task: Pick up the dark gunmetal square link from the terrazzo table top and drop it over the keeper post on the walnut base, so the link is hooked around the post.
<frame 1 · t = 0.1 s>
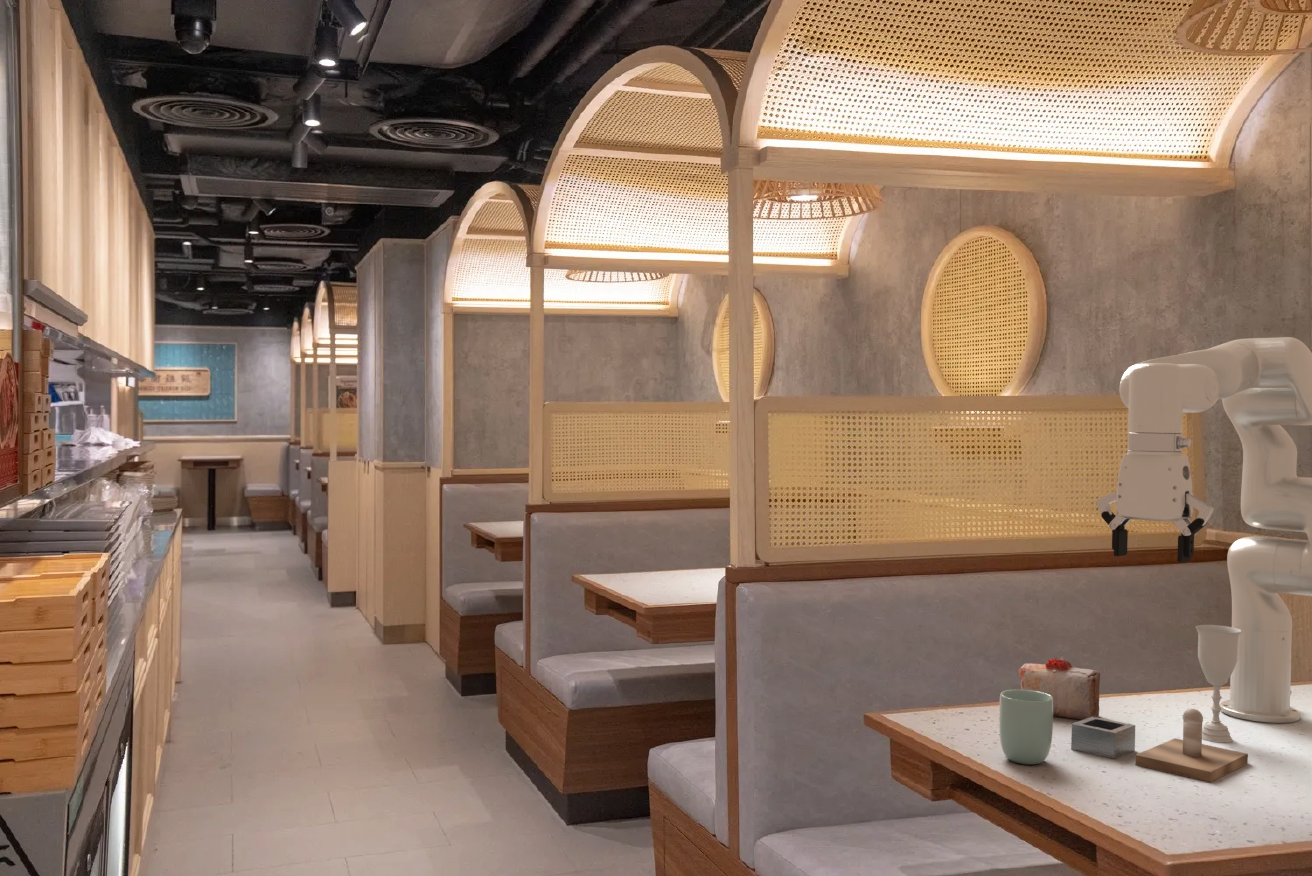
hand: (1151, 558, 176), 31 cm above the table, tool pointing down, fingers open, 9 cm apart
chalice: (1215, 739, 191), on the table
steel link: (1102, 749, 184), on the table
keeper post: (1191, 764, 177), on the table
cup: (1025, 762, 177), on the table
food item: (1058, 715, 206), on the table
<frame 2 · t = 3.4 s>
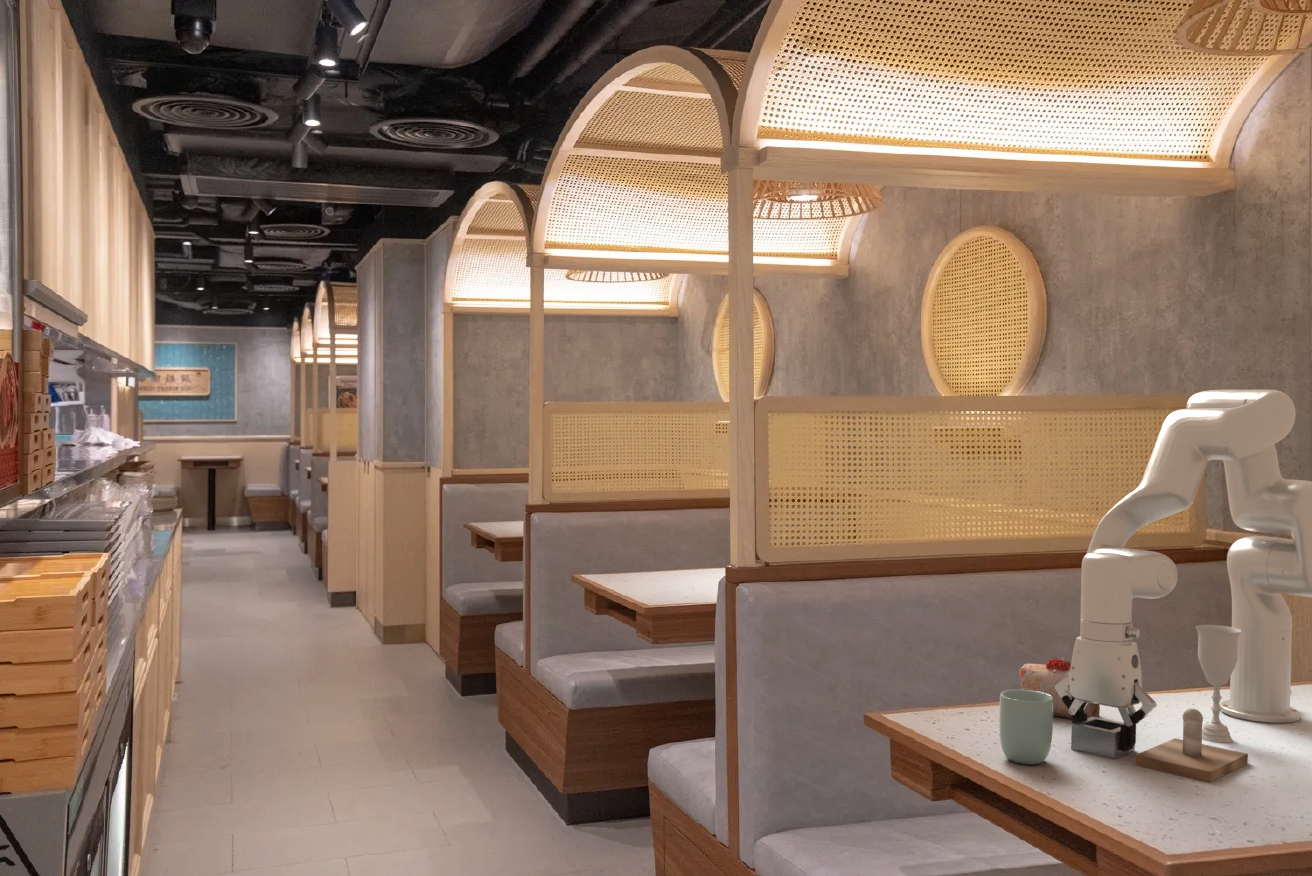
hand: (1103, 743, 184), 1 cm above the table, tool pointing down, fingers closed on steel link, 7 cm apart
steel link: (1102, 749, 184), on the table, touching gripper
everything else where it was.
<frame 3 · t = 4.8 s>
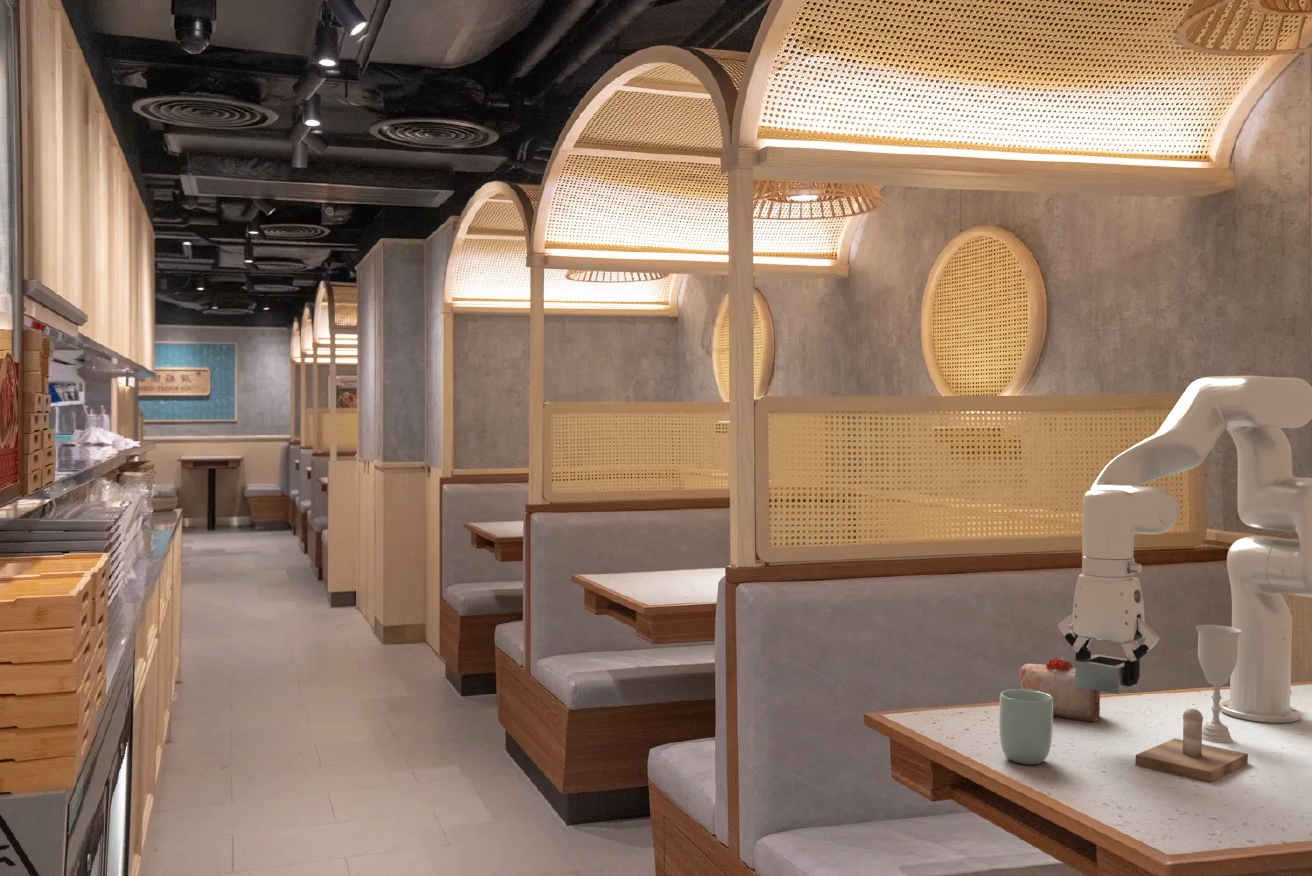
hand: (1107, 679, 184), 11 cm above the table, tool pointing down, fingers closed on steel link, 7 cm apart
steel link: (1106, 686, 184), point 10 cm above the table, touching gripper
everything else where it was.
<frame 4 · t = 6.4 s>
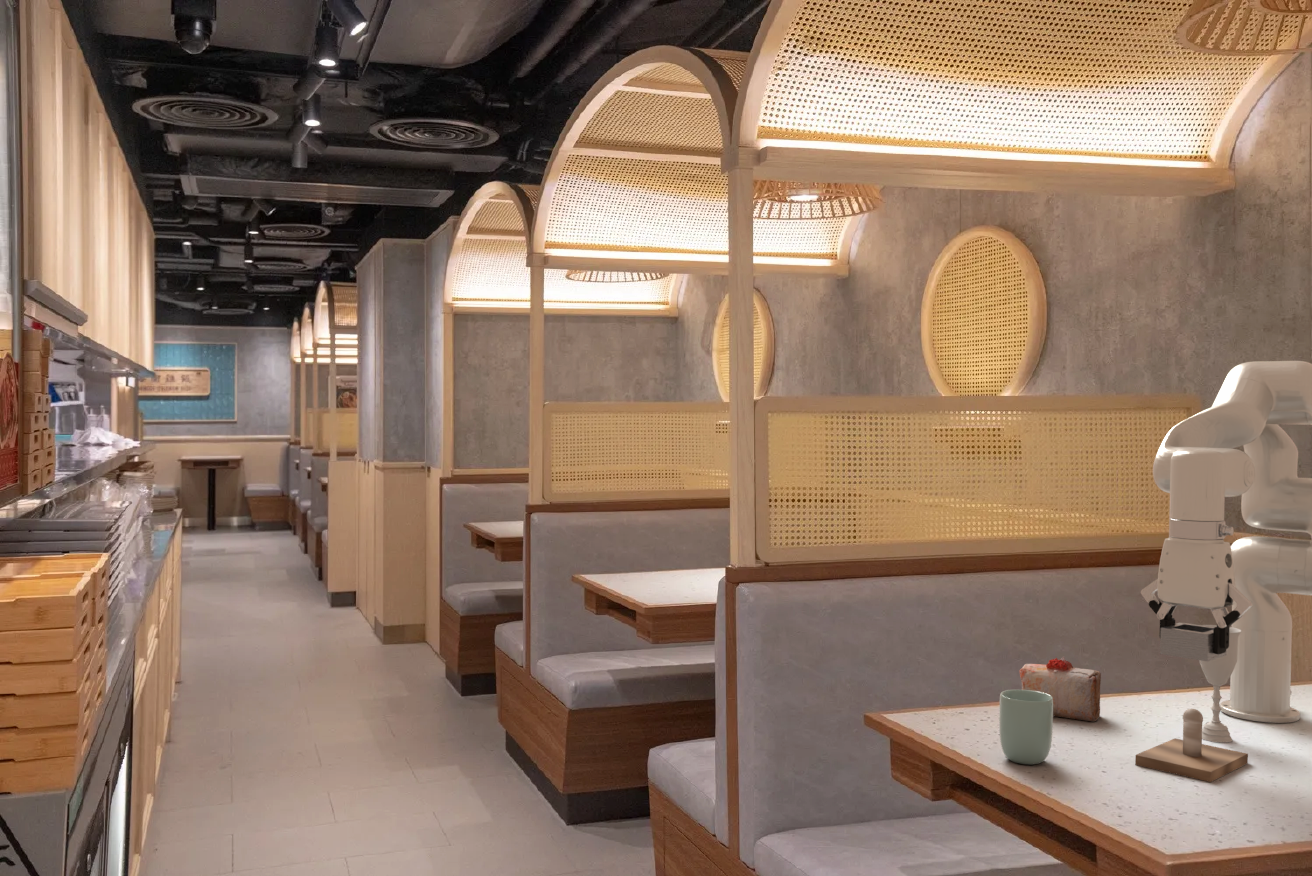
hand: (1193, 648, 176), 18 cm above the table, tool pointing down, fingers closed on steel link, 7 cm apart
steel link: (1193, 654, 176), point 17 cm above the table, touching gripper
everything else where it was.
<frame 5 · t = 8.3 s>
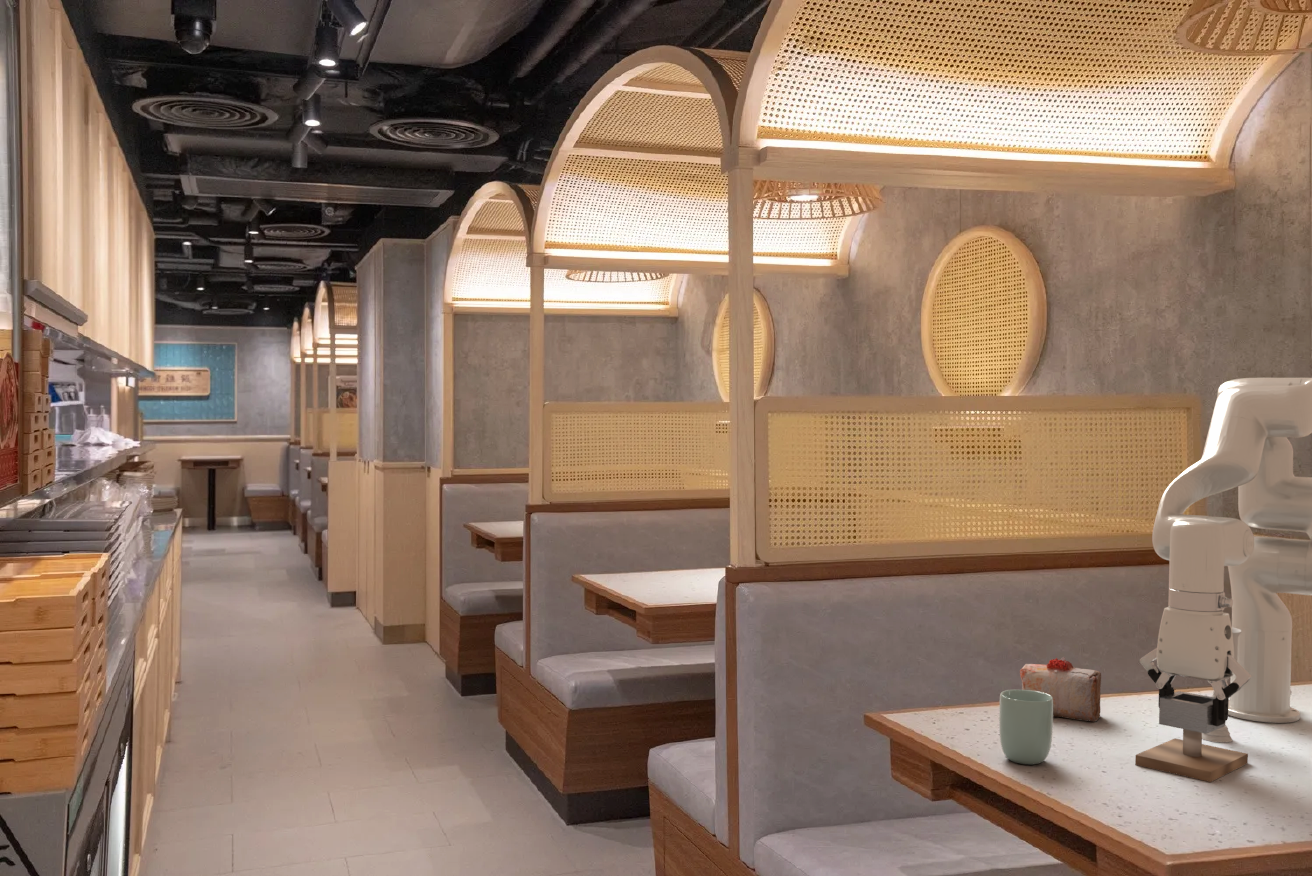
hand: (1192, 718, 176), 7 cm above the table, tool pointing down, fingers closed on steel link, 7 cm apart
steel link: (1192, 725, 176), point 6 cm above the table, touching gripper
everything else where it was.
when the fingers open (4 cm above the table, at t = 9.9 s): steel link drops 2 cm, resting on keeper post.
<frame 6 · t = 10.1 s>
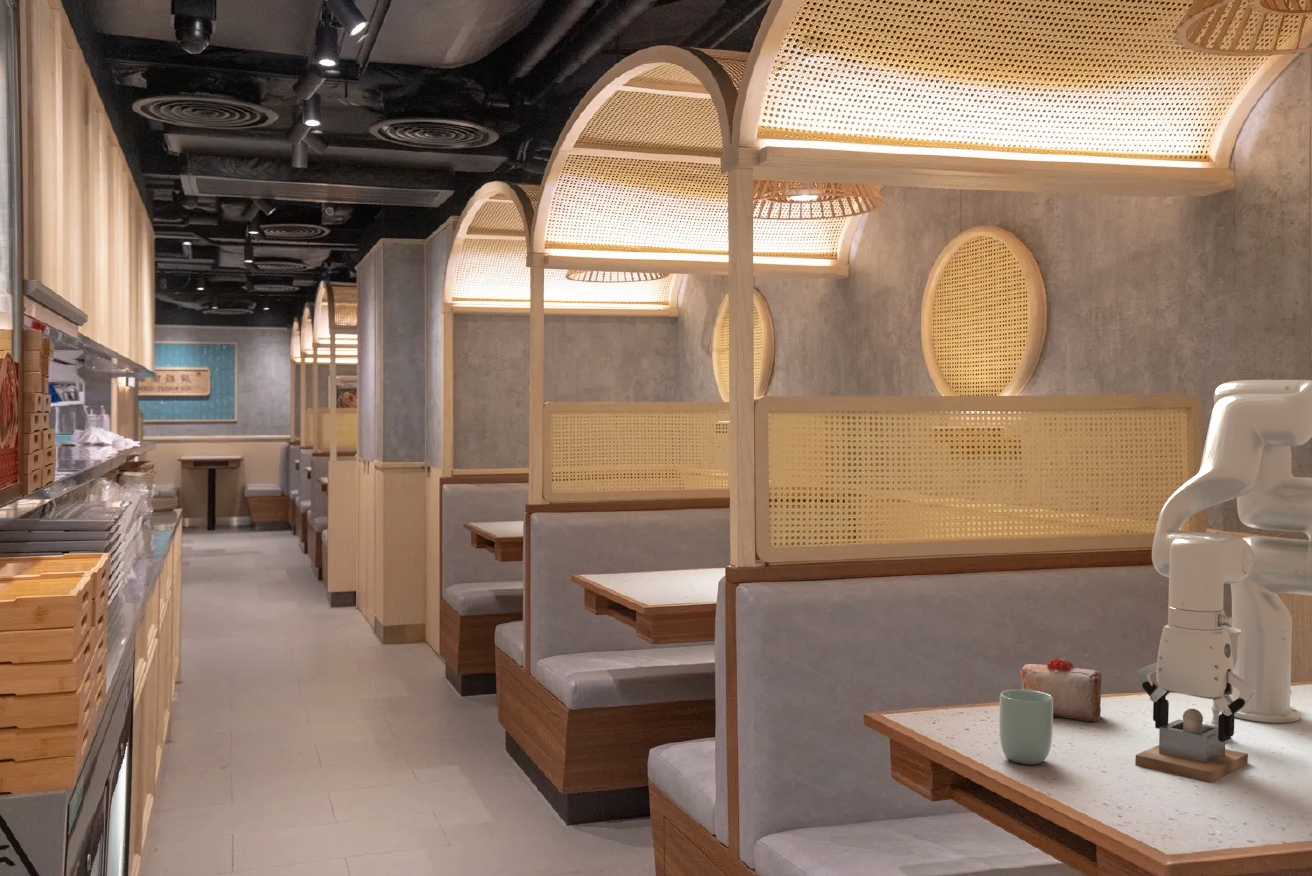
hand: (1192, 733, 177), 5 cm above the table, tool pointing down, fingers open, 9 cm apart
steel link: (1192, 754, 177), point 1 cm above the table, touching keeper post
everything else where it was.
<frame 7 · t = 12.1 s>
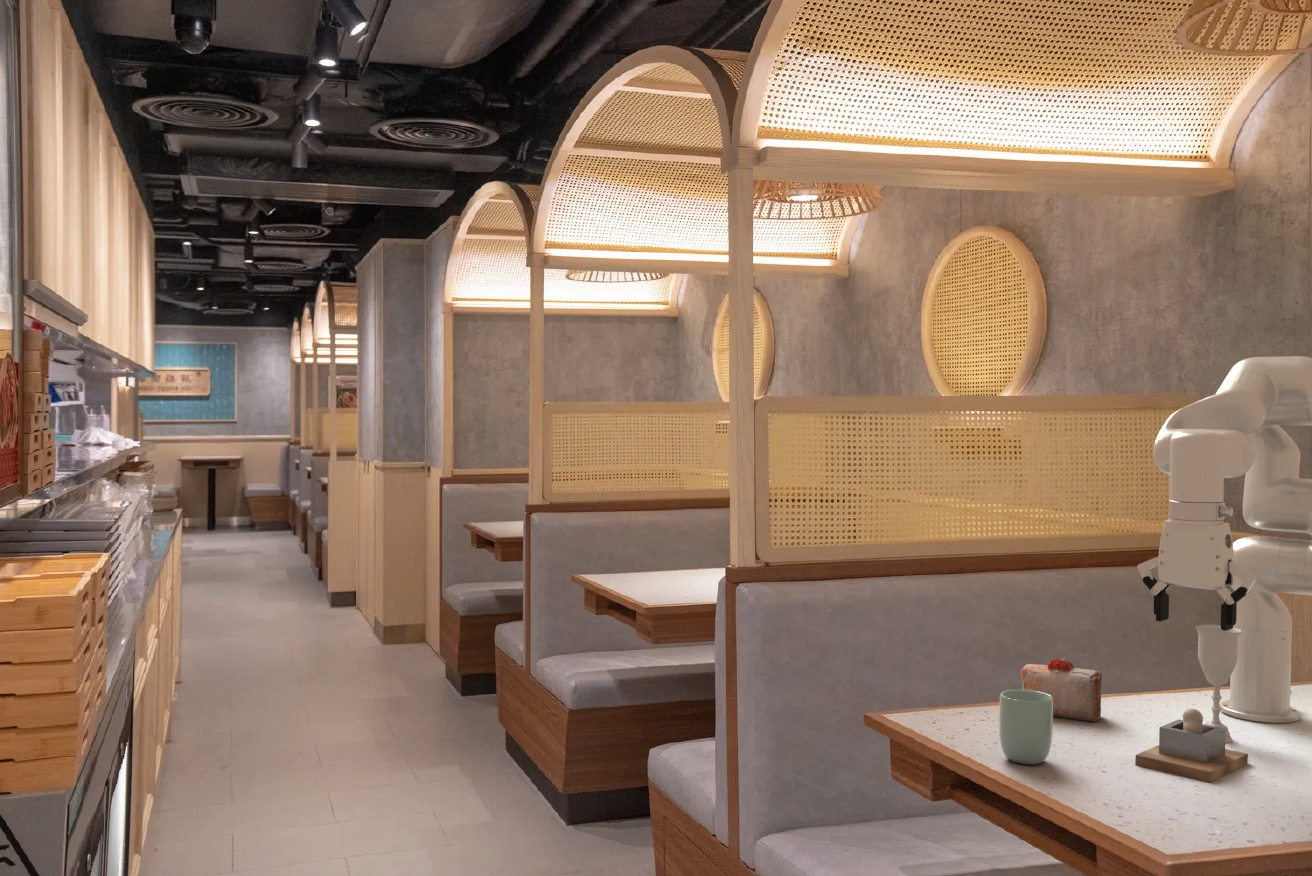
hand: (1194, 624, 178), 21 cm above the table, tool pointing down, fingers open, 9 cm apart
nothing on the table moved.
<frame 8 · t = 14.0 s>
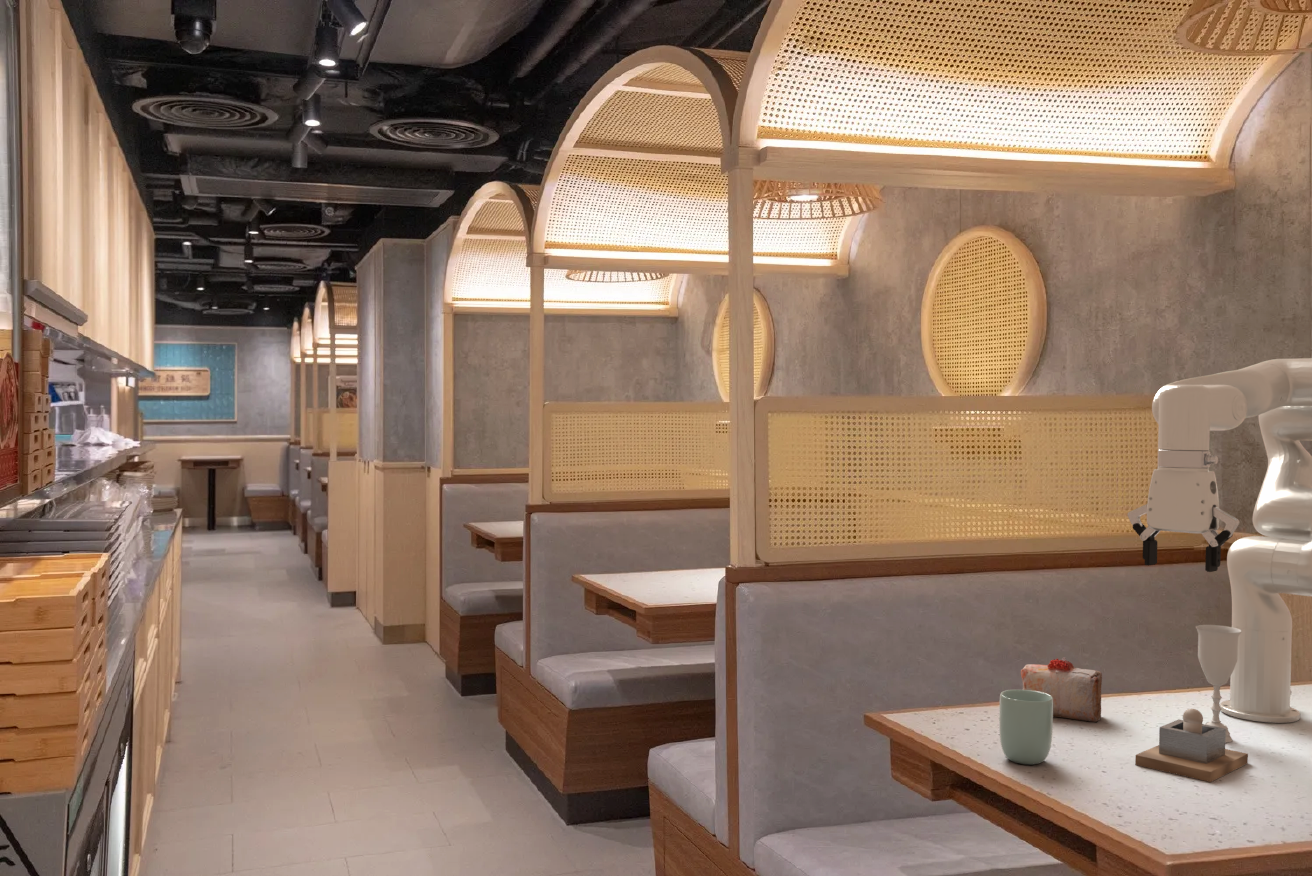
hand: (1180, 567, 188), 28 cm above the table, tool pointing down, fingers open, 9 cm apart
nothing on the table moved.
at the end: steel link 0.0 cm off-centre on the keeper post, point 1.5 cm above the keeper post's base; the gripper is holding nothing; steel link tilted 0° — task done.
